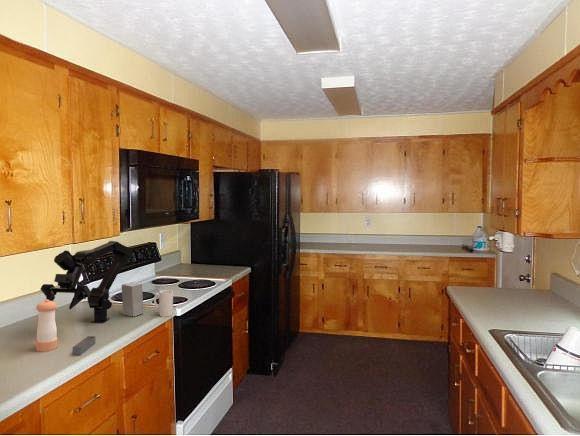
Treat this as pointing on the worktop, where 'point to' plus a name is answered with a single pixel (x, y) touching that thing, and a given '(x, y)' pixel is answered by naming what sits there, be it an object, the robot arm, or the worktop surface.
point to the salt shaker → (46, 327)
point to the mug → (164, 303)
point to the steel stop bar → (83, 345)
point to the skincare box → (132, 299)
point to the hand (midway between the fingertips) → (58, 308)
